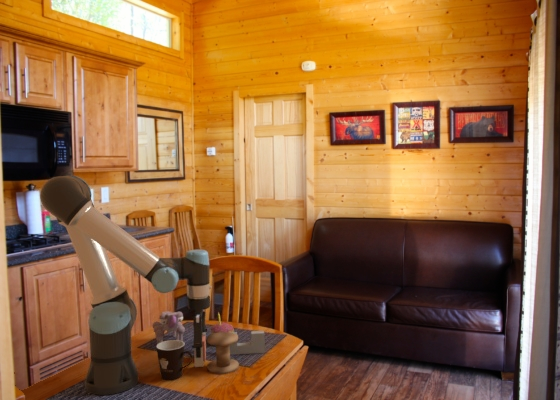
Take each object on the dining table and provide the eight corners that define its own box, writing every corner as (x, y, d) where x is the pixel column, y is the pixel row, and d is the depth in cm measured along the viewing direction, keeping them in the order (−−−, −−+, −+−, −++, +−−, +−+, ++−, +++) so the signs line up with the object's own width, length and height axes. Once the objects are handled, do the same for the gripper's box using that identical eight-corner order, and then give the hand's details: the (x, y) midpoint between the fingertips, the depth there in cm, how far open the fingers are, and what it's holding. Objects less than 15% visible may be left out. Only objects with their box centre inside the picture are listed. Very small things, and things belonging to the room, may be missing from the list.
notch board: (224, 354, 169) (223, 334, 168) (224, 352, 171) (224, 332, 171) (264, 352, 170) (264, 333, 169) (264, 350, 172) (264, 330, 172)
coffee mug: (152, 375, 152) (151, 344, 152) (177, 368, 158) (176, 338, 157) (170, 388, 144) (169, 355, 143) (195, 379, 149) (194, 347, 148)
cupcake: (224, 348, 175) (223, 315, 174) (206, 344, 179) (205, 311, 179) (238, 340, 182) (238, 309, 181) (220, 336, 187) (219, 306, 186)
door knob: (206, 374, 153) (205, 343, 152) (208, 362, 163) (207, 332, 162) (238, 373, 153) (238, 342, 153) (238, 360, 163) (238, 331, 163)
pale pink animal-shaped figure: (192, 352, 171) (189, 314, 170) (161, 359, 167) (158, 320, 166) (179, 334, 190) (177, 300, 188) (152, 340, 185) (149, 305, 184)
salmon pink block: (194, 362, 163) (193, 341, 162) (195, 356, 168) (195, 336, 167) (205, 361, 163) (204, 341, 162) (206, 356, 168) (205, 336, 167)
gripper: (207, 306, 152) (209, 373, 153) (211, 286, 176) (213, 344, 178) (183, 307, 151) (185, 374, 153) (190, 287, 176) (192, 345, 177)
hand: (200, 358), depth 165 cm, fingers open, 12 cm apart
